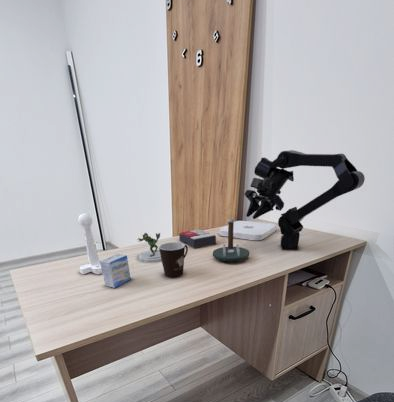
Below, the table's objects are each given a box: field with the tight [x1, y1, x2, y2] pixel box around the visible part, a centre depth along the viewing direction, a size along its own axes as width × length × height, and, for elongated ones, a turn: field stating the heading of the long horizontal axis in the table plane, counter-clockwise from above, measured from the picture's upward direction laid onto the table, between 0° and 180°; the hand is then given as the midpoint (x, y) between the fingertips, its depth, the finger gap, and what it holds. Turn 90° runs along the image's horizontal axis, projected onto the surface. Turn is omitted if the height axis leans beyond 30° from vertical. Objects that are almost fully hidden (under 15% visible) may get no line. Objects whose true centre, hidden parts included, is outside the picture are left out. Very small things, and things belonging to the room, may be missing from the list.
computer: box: [219, 220, 277, 241], centre depth 145 cm, size 22×22×3 cm
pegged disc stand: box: [212, 218, 251, 261], centre depth 112 cm, size 14×14×12 cm
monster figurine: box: [136, 232, 162, 263], centre depth 118 cm, size 12×12×10 cm
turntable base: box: [217, 259, 245, 264], centre depth 116 cm, size 10×10×1 cm
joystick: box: [77, 213, 103, 275], centre depth 104 cm, size 11×8×20 cm
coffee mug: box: [158, 241, 189, 279], centre depth 102 cm, size 12×9×10 cm
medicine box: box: [99, 253, 132, 289], centre depth 97 cm, size 8×4×9 cm, turn 148°
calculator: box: [178, 229, 217, 249], centre depth 135 cm, size 11×4×15 cm
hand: (250, 217), depth 117 cm, fingers open, 4 cm apart
